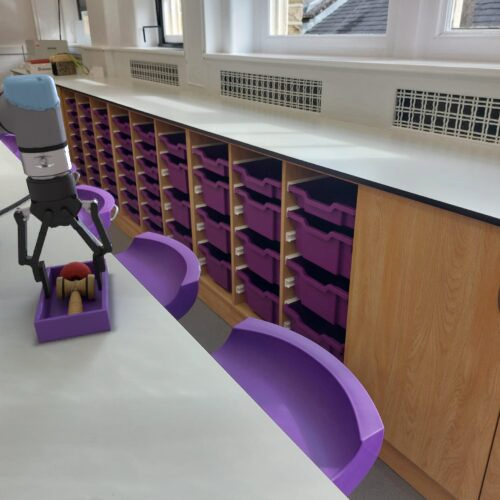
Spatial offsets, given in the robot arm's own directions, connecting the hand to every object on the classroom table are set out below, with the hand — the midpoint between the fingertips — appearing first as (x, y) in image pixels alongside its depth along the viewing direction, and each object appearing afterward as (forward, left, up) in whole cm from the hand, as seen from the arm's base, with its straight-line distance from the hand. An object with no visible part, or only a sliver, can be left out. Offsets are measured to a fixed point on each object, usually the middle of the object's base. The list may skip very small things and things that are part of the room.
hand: (75, 291), depth 91 cm
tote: (0, 0, -3) cm, 3 cm away
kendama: (0, 0, -3) cm, 3 cm away
